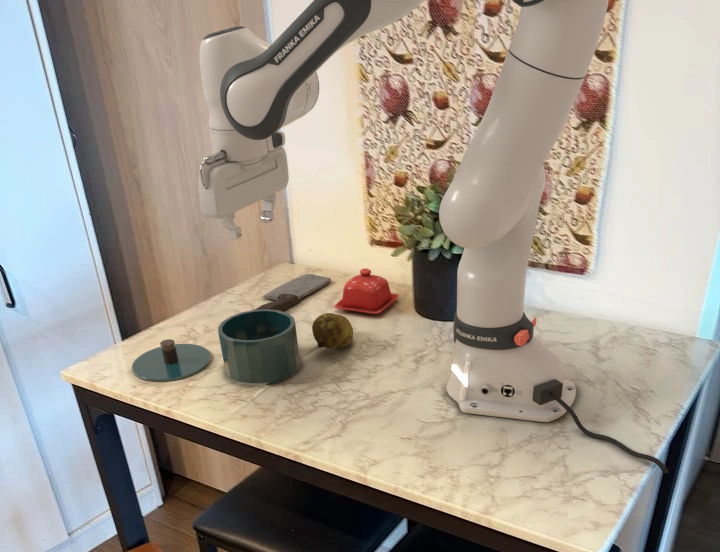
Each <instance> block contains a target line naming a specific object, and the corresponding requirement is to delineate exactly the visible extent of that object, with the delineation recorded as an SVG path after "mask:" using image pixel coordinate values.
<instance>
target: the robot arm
mask: <svg viewBox="0 0 720 552" xmlns="http://www.w3.org/2000/svg"><path fill="white" fill-rule="evenodd" d="M424 2H426V0H313V1H312V2H310V4H309V5H308V6H307V7H306V8H305V9H304V10H303V11H302V12H301V13H300V14H299V15H298V16H297V17H296V18H295V19H294V20H293V21H292V22H291V24H289V25H288V27H287V28H286V29H285V30H283V32H282V33H281V34H280V35H279V36H278V37H277V38H276V39H275V40H274V41H273V42H272V43H269V42H267V41H265V40H264V39H262V38H260V37H259V36H257V35H255V34H254V33H253V32H252V31H251V30H250V29H249V28H248V27H246V26H242V25H237V26H233V27H229V28H225V29H221V30H217V31H213V32H211V33H209V34H207V35H205V36H204V37H203V39H202V40H201V41H200V44H199V54H198V55H199V69H200V80H201V84H202V86H201V87H202V93H203V97H204V100H205V103H206V105H207V108H208V114H209V115H208V117H209V118H208V130H209V134H210V141H211V146H212V154H211V155H207V156H205V157H204V158H203V159H202V162H201V164H200V166H199V169H198V173H199V174H198V192H199V193H198V194H199V203H200V209H201V210H200V211H201V213H202V214H203V215H204V217H205V218H209V219H216V220H220V222H221V223H222V224H223V226H224V228H225V229H226V232H227V237H228V239H229V240H232V241H236V240H238V239H241V237H242V228H241V226H237V224H236V223H235V221H234V220H235V219H236V214H235V213H237V212H239V211H241V210H243V209H245V208H247V207H249V206H251V205H254V204H256V203H257V202H260V201H262V202H263V205H262V210H261V211H259V213H260V219H261V222H262V223H264V224H265V223H266V224H269V223H271V222H272V221H274V220H275V216H274V209H275V205H276V201H277V196H276V193H278V192H280V191H282V190H285V189H286V188H287V187H288V185H289V184H288V183H289V178H290V177H289V176H290V174H289V165H288V164H289V163H288V156H287V153H286V152H287V151H286V149H285V148H284V146H285V144H286V136H285V133H284V132H283V131H281V130H280V129H283V128H284V127H286V126H288V125H290V124H292V123H294V122H296V121H298V120H299V119H301V118H303V117H304V116H306V115H307V114H308V113H309V112H311V111H312V110H313V109H314V107H315V106H316V104H317V102H318V99H319V95H320V81H319V76H318V73H317V72H318V71H319V70H320V69H321V67H323V66H324V65H325V64H326V62H327V61H329V60H330V58H332V57H333V56H334V55H335V54H337V52H338V51H340V50H341V49H342V48H344V47H346V45H347V46H348V44H350V43H352V42H354V41H356V40H358V39H359V38H362V37H364V36H366V35H368V34H370V33H374V32H376V31H378V30H380V29H383V28H385V27H388V26H390V25H392V24H395V23H396V22H398V21H400V20H402V18H404V17H406V16H407V15H408V14H410V13H411V12H413V11H414V10H416V8H418V7H420V5H422V4H423V3H424ZM512 2H514V3H515V4H516V5H517V6H518V7H520V13H519V15H518V21H517V24H516V26H515V30H514V32H513V35H512V38H511V41H510V44H509V46H508V49H507V51H506V55H505V58H504V61H503V64H502V67H501V69H500V72H499V75H498V78H497V80H496V82H495V83H496V84H495V86H494V88H493V92H492V95H491V97H490V100H489V102H488V105H487V107H486V110H485V112H484V114H483V116H482V119H481V121H480V123H479V124H478V126H477V128H476V130H475V133H474V134H473V136H472V138H471V140H470V142H469V144H468V146H467V148H466V150H465V153H464V155H463V157H462V159H461V161H460V163H459V166H458V168H457V170H456V172H455V174H454V176H453V178H452V181H451V183H450V184H449V187H448V188H447V190H446V191H445V194H444V195H443V197H442V198H441V201H440V205H439V209H438V217H439V223H440V224H439V225H440V227H441V229H442V231H443V233H444V234H445V236H446V237H447V239H449V241H450V242H452V243H453V244H454V245H456V246H458V247H461V248H462V249H463V252H462V255H461V257H460V260H459V263H458V266H457V272H456V273H457V274H456V275H457V276H456V311H455V313H454V316H453V327H452V333H453V343H454V352H453V358H452V364H451V370H450V374H449V376H448V380H447V383H446V386H445V389H446V392H447V395H448V396H449V397H450V398H451V399H452V400H454V401H455V402H456V403H457V404H458V407H459V410H460V411H461V412H463V413H464V414H472V415H479V416H488V417H497V418H506V419H514V420H522V421H532V422H539V423H551V422H553V421H555V420H558V419H559V418H561V417H563V416H564V415H565V414H566V413H568V414H569V415H570V417H571V418H572V420H573V421H574V423H575V425H576V427H577V428H578V429H579V431H580V432H582V433H583V434H584V435H586V436H588V437H590V438H592V439H593V438H594V439H598V440H603V441H606V442H609V443H611V444H613V445H615V446H616V447H617V448H619V449H621V450H622V451H624V452H626V453H627V454H629V455H631V456H633V457H635V458H639V459H642V460H646V461H649V462H652V463H654V464H655V465H656V466H658V468H659V469H660V470H661V472H662V473H663V474H669V470H668V468H667V467H666V465H665V464H664V463H663V462H662V461H661V460H660V459H658V458H657V457H655V456H653V455H649V454H645V453H641V452H638V451H636V450H633V449H631V448H630V447H628V446H627V445H625V444H624V443H622V442H620V441H619V440H617V439H615V438H613V437H611V436H608V435H605V434H600V433H595V432H593V431H590V430H588V429H587V428H585V426H584V425H583V424H582V422H581V421H580V419H579V417H578V416H577V413H576V412H575V411H574V410H573V409H572V408H571V407H572V406H573V404H574V402H575V400H576V397H577V389H576V385H575V383H574V382H573V381H572V380H569V379H566V378H565V374H564V366H563V362H562V360H561V358H560V357H559V356H558V355H557V354H556V353H554V352H553V351H552V350H550V349H549V348H548V347H547V346H546V345H545V344H544V343H542V342H541V341H540V340H538V339H537V337H535V336H534V330H535V327H536V326H537V317H534V318H533V319H532V320H530V319H529V318H528V316H527V315H526V313H525V311H524V309H525V294H526V280H527V271H528V264H529V261H530V260H529V259H530V255H531V250H532V247H533V243H534V242H533V241H534V237H535V233H536V227H537V221H538V217H539V216H538V215H539V210H540V205H541V200H542V196H543V193H544V190H545V186H546V180H547V179H546V178H547V177H546V175H547V174H546V169H545V166H544V164H545V162H546V160H547V159H548V157H549V155H550V153H551V151H552V149H553V148H554V146H555V144H556V143H557V142H558V140H559V139H560V136H561V135H562V131H563V129H564V127H565V124H566V123H567V120H568V118H569V115H570V112H571V111H572V108H573V106H574V103H575V101H576V99H577V96H578V94H579V92H580V90H581V88H582V85H583V82H584V80H585V78H586V75H587V73H588V71H589V68H590V66H591V63H592V61H593V58H594V55H595V52H596V49H597V46H598V43H599V41H600V37H601V33H602V30H603V26H604V24H605V23H604V22H605V18H606V16H607V15H606V14H607V11H608V6H609V0H512Z"/></svg>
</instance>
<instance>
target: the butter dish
mask: <svg viewBox="0 0 720 552" xmlns="http://www.w3.org/2000/svg"><path fill="white" fill-rule="evenodd" d="M371 273H372V270H371V269H369V268H361V269H360V270H359V274H356V275H354V276H352V278H350V279H348V280H347V282H346V283H345V284H344V286H343V291H342V298H341V300H339V301H337V302H336V303H335V305H334V308H335V309H338V310H344V311H351V312H355V313H362V314H370V315H377V314H380V313H382V312H383V311H385V309H387V307H389V306H390V305H391V304H392V303H393V302H395V301H396V300H397V299H398V298H399V294H397V293H392V292H391V287H390V284H389V282H388V280H387V279H386V278H385V277H382V276H381V275H380V276H379V275H375V274H371Z"/></svg>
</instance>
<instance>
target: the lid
mask: <svg viewBox="0 0 720 552" xmlns="http://www.w3.org/2000/svg"><path fill="white" fill-rule="evenodd" d="M159 345H160V346H158V347H156V348H153V349H150V350H148V351H146V352H144V353H142V354H140V355H139V356H138V357H137V358H135V360H134V361H133V363H132V365H131V370H132V373H133V374H134V375H135V376H136V377H137V378H138V379H141V380H144V381H147V382H153V383H155V382H158V383H161V382H165V383H166V382H173V381H174V382H175V381H178V380H183V379H186V378H189V377H192V376H194V375H196V374H198V373H200V372H202V371H203V370H204V369H205V368H207V367H208V365H210V363H211V360H212V356H211V352H210V351H209V350H208V349H207V348H206V347H204V346H201V345H199V344H194V343H176V341H175V340H174V339H172V338H171V339H170V338H169V339H164V340H161V341H160V343H159Z"/></svg>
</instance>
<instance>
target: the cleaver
mask: <svg viewBox="0 0 720 552" xmlns="http://www.w3.org/2000/svg"><path fill="white" fill-rule="evenodd" d="M330 282H332V278H331V277H327V276H322V275H316V274H312V273H308V274H304V275H301V276H299V277H296V278H294V279H291V280H290V281H288V282H285V283H283V284H281V285H279V286H277V287H276V288H273V289H272V290H270V291H269V292H267V293H265V294H264V295H262V298H266V299H268V300H273V301H270V302H267V303H264V304H262V305H260V306H258V307H256V308H255V309H253V310H263V309H270V310H279V311H284V310H286V309H289V308H290V307H292V306H294V305H296V304H297V303H299V300H301V299H303V298H305V297H306V296H308V295H310V294H312V293H314V292H315V291H317V290H319V289H321V288H323V287H324V286H326V285H327V284H329V283H330Z"/></svg>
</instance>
